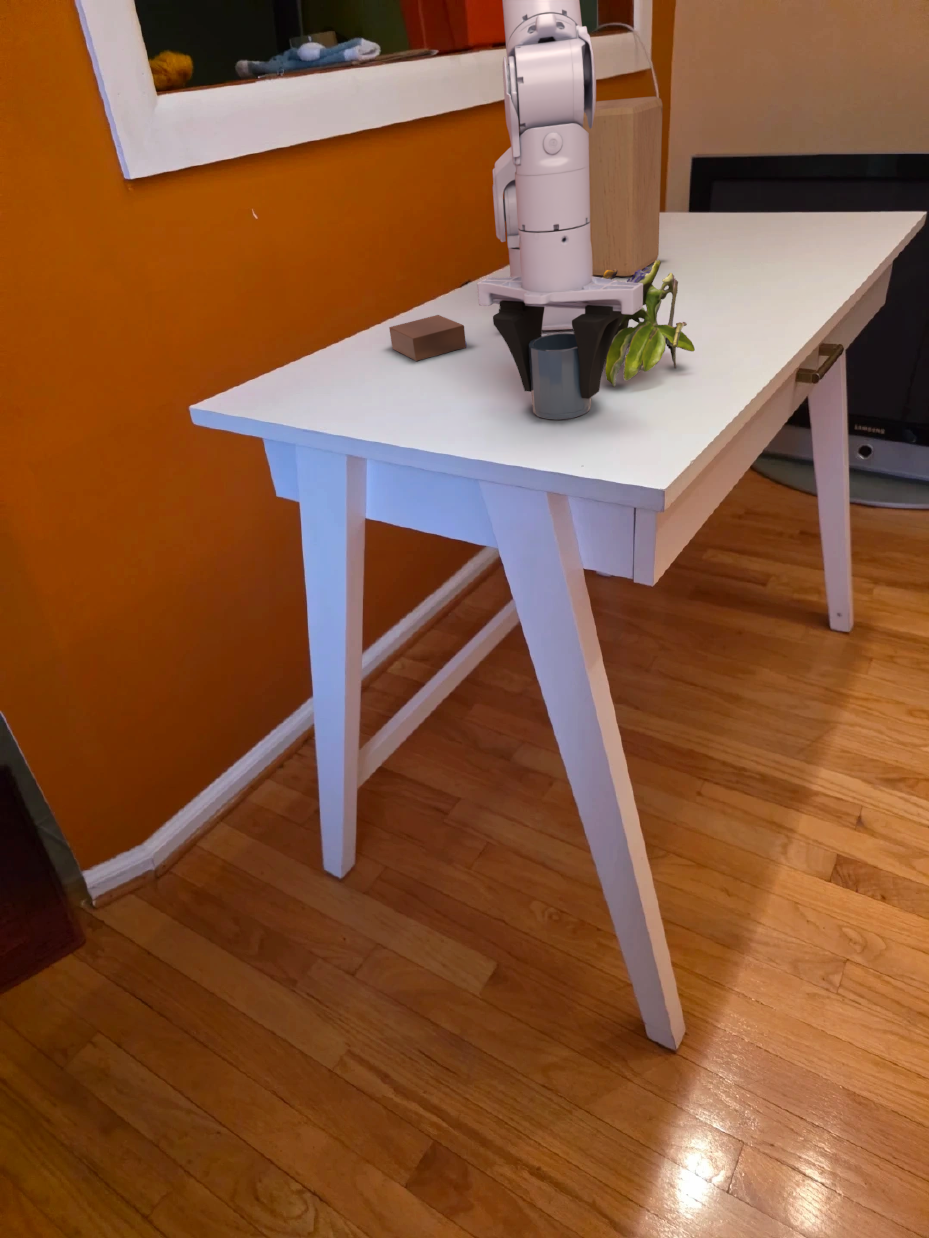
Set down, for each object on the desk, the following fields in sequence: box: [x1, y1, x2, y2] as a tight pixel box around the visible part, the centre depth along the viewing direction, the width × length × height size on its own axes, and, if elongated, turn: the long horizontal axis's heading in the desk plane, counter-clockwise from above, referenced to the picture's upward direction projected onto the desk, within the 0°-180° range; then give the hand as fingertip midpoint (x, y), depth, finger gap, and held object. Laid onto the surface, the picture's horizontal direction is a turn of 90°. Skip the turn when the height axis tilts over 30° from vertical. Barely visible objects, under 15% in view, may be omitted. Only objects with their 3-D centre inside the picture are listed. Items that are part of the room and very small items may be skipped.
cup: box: [529, 331, 592, 420], centre depth 72 cm, size 5×5×6 cm
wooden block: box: [583, 95, 663, 278], centre depth 109 cm, size 10×10×20 cm
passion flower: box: [600, 259, 696, 388], centre depth 79 cm, size 11×11×12 cm
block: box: [388, 314, 467, 362], centre depth 93 cm, size 6×6×2 cm
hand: (560, 391), depth 73 cm, fingers closed on cup, 5 cm apart
